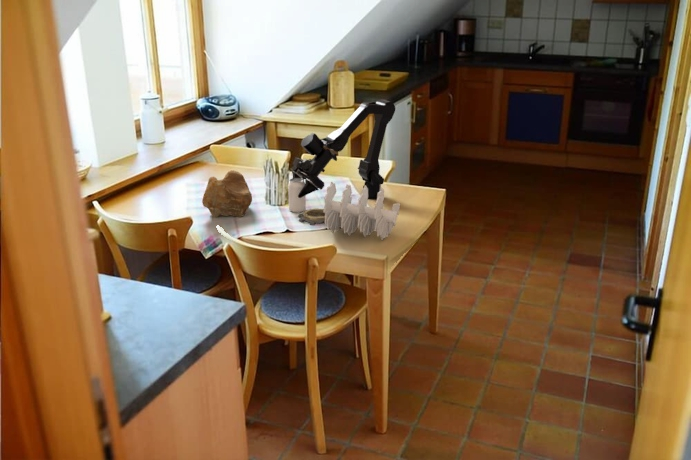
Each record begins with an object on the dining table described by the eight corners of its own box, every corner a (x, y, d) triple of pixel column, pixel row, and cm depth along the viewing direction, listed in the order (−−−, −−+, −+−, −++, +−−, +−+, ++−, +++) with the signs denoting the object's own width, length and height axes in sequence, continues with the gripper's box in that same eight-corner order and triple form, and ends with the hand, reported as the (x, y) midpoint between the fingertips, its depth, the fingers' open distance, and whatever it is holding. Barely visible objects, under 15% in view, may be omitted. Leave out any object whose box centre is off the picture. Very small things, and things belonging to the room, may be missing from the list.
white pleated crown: (388, 254, 222) (321, 240, 229) (403, 218, 233) (338, 206, 240) (385, 216, 209) (314, 203, 216) (401, 180, 220) (332, 169, 227)
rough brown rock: (235, 228, 235) (237, 188, 230) (196, 218, 240) (196, 180, 235) (265, 210, 256) (267, 173, 251) (228, 201, 261) (229, 165, 256)
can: (303, 213, 248) (302, 183, 243) (287, 212, 249) (286, 182, 245) (307, 207, 254) (307, 178, 249) (291, 206, 255) (290, 177, 250)
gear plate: (340, 213, 248) (340, 208, 247) (331, 226, 235) (331, 221, 234) (304, 210, 251) (304, 205, 250) (293, 223, 238) (293, 218, 237)
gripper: (295, 144, 252) (269, 175, 251) (316, 155, 237) (289, 188, 236) (313, 161, 259) (288, 192, 258) (335, 173, 243) (309, 205, 242)
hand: (293, 194), depth 248 cm, fingers open, 8 cm apart
